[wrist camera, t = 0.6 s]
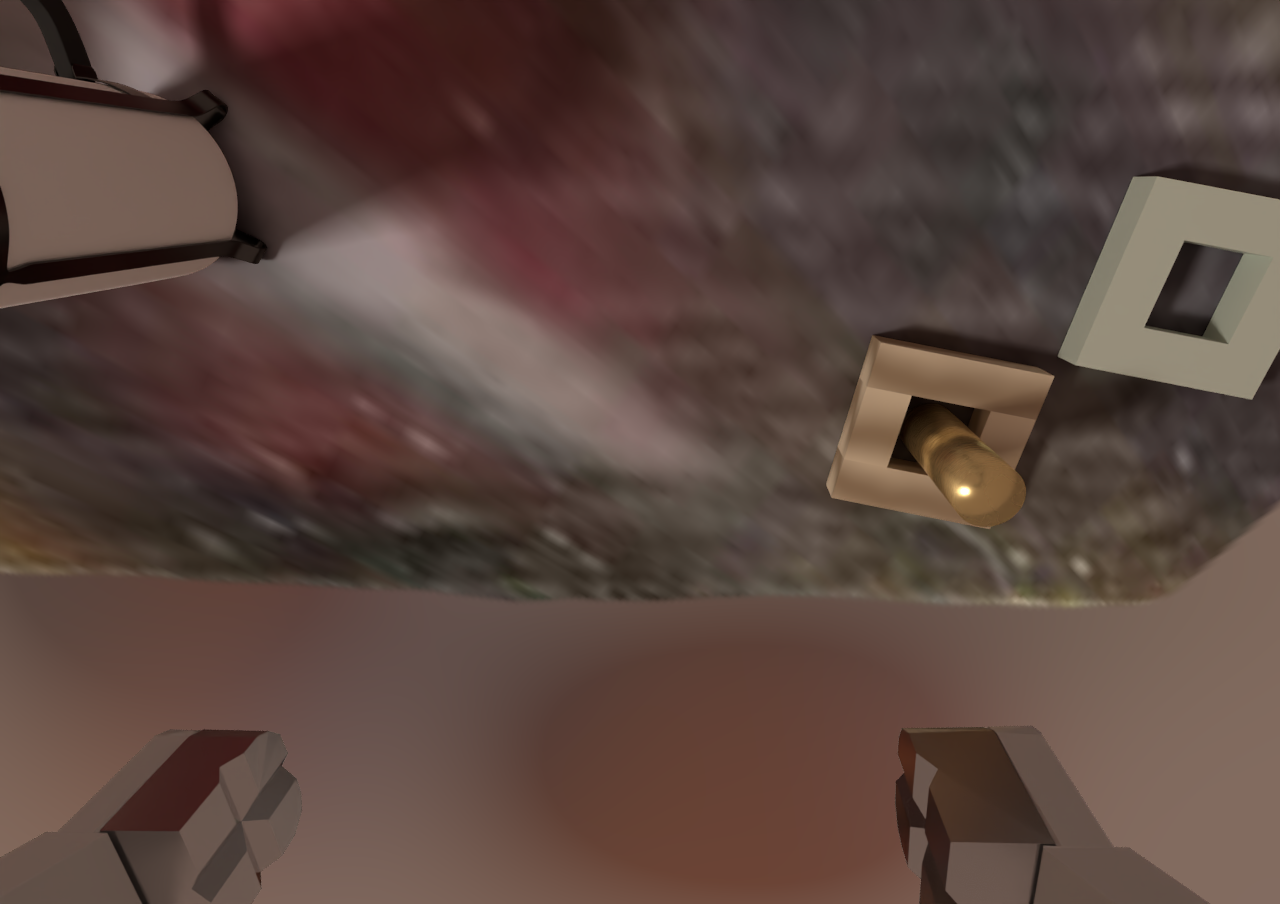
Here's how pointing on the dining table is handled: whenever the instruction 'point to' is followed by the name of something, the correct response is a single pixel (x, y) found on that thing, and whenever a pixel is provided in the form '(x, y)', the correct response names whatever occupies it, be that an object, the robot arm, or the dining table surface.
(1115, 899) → the robot arm
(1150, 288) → the socket block
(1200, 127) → the dining table surface
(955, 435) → the pin
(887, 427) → the birch mount
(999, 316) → the dining table surface
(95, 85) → the coffee press
